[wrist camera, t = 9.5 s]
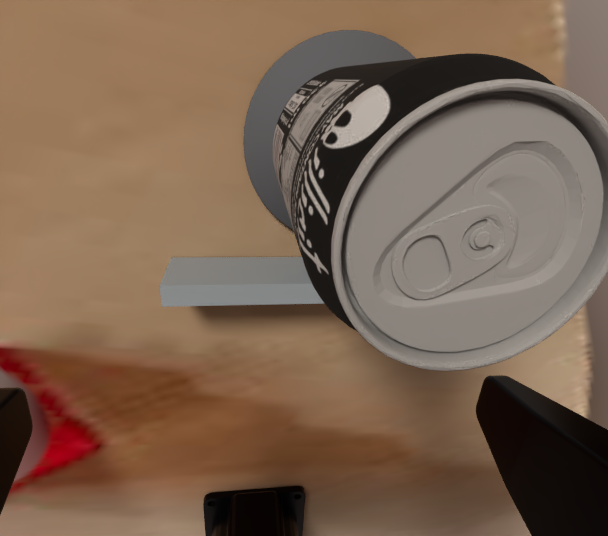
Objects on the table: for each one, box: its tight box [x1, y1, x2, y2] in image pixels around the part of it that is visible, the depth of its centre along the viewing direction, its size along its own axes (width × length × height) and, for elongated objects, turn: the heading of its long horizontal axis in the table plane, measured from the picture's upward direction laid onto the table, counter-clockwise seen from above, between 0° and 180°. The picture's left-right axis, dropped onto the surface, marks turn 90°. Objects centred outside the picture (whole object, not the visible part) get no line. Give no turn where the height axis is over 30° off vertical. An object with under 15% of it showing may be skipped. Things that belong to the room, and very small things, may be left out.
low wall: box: [160, 257, 324, 307], centre depth 20 cm, size 1×16×3 cm, turn 87°
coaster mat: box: [244, 30, 416, 229], centre depth 19 cm, size 9×9×1 cm
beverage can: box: [273, 54, 608, 371], centre depth 13 cm, size 7×7×12 cm
